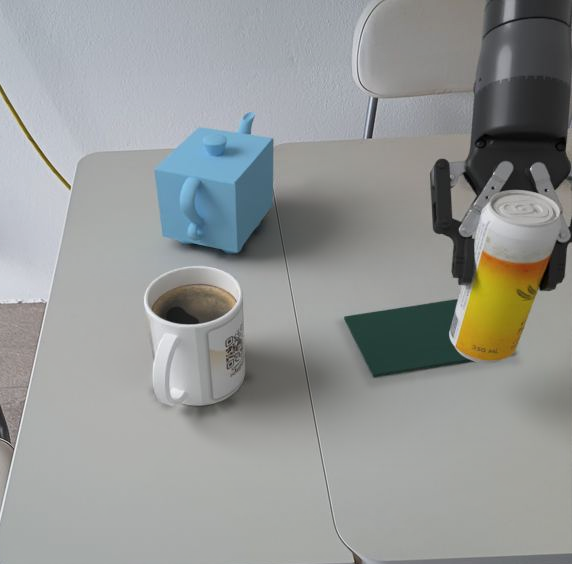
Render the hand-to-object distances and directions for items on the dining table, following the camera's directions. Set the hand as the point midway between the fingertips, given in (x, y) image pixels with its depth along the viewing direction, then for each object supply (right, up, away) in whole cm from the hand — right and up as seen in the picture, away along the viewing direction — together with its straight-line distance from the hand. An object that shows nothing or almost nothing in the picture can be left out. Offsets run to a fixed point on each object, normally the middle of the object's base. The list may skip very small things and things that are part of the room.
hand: (506, 286), depth 55 cm
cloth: (-1, -4, +19) cm, 20 cm away
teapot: (-24, +13, +39) cm, 47 cm away
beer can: (+1, -5, +7) cm, 9 cm away
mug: (-27, -9, +16) cm, 33 cm away
